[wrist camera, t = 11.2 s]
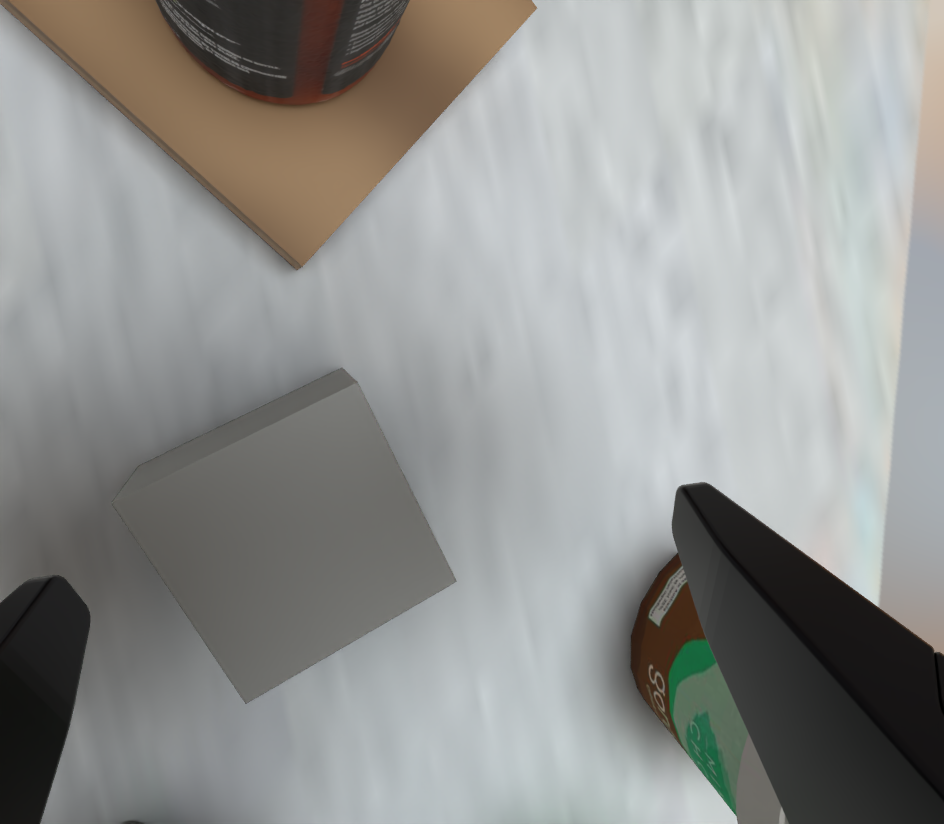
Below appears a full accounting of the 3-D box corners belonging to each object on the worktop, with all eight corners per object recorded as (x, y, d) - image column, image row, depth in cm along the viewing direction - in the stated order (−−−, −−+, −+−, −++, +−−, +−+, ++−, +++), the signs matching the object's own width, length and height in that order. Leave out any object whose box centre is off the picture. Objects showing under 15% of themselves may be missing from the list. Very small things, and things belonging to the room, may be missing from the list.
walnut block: (297, 269, 20) (302, 266, 17) (-3, 0, 17) (-58, -59, 14) (500, 46, 21) (537, 7, 18) (253, -258, 17) (252, -365, 14)
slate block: (249, 634, 22) (245, 704, 18) (140, 463, 20) (111, 502, 16) (425, 535, 23) (456, 581, 20) (341, 366, 21) (357, 382, 18)
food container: (551, 626, 26) (718, 818, 16) (662, 527, 26) (881, 657, 17) (686, 796, 30) (881, 1028, 20) (778, 706, 30) (1006, 890, 21)
